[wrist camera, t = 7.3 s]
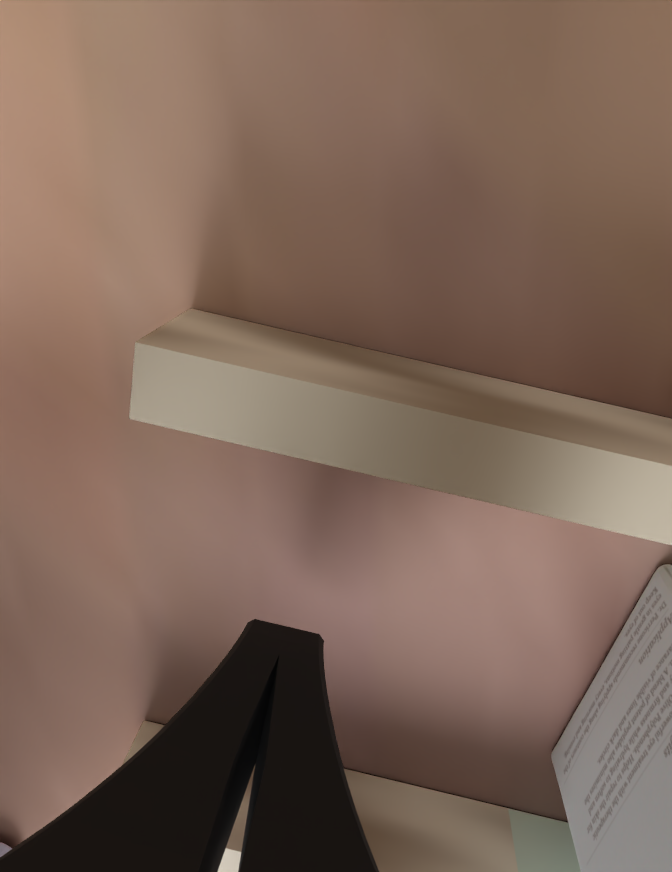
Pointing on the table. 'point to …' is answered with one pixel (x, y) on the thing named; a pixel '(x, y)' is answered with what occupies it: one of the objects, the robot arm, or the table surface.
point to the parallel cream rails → (425, 467)
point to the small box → (624, 747)
